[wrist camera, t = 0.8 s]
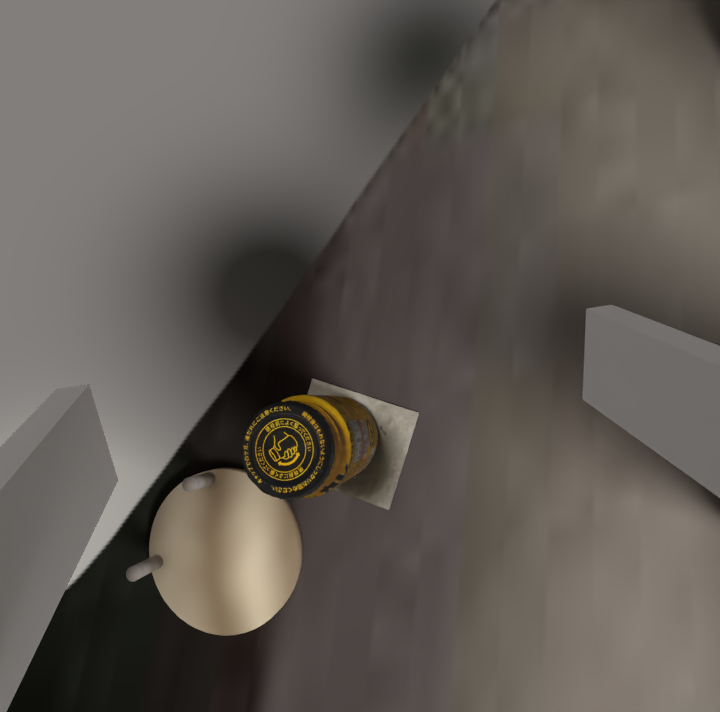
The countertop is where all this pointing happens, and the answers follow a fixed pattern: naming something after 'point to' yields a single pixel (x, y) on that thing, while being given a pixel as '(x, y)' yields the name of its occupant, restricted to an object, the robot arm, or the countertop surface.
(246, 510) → the flange base
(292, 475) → the condiment
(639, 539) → the countertop surface
